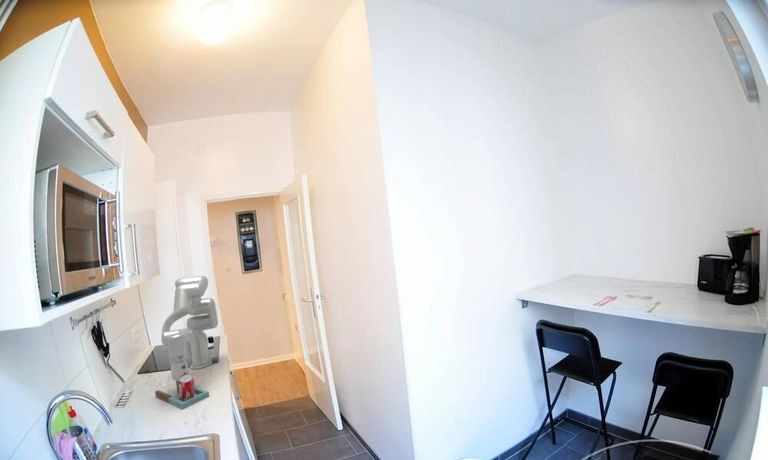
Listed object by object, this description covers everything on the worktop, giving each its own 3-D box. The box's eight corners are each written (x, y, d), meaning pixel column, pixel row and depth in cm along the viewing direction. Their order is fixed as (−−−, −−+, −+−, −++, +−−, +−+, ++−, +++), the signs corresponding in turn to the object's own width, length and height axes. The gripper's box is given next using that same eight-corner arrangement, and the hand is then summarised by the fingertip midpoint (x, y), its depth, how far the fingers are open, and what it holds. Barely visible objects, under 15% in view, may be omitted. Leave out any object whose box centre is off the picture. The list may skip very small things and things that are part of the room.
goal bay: (195, 390, 185) (194, 386, 185) (209, 396, 178) (208, 391, 178) (168, 402, 174) (168, 398, 174) (182, 409, 167) (181, 404, 167)
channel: (181, 385, 193) (181, 380, 193) (195, 390, 185) (194, 385, 185) (155, 397, 182) (155, 391, 182) (168, 402, 174) (168, 397, 174)
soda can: (175, 398, 175) (174, 378, 171) (189, 390, 181) (188, 371, 177) (184, 405, 172) (183, 385, 168) (197, 396, 178) (197, 377, 174)
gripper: (192, 357, 177) (196, 393, 177) (178, 353, 185) (182, 387, 186) (177, 363, 170) (181, 400, 171) (163, 358, 179) (167, 393, 179)
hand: (181, 393), depth 178 cm, fingers closed
